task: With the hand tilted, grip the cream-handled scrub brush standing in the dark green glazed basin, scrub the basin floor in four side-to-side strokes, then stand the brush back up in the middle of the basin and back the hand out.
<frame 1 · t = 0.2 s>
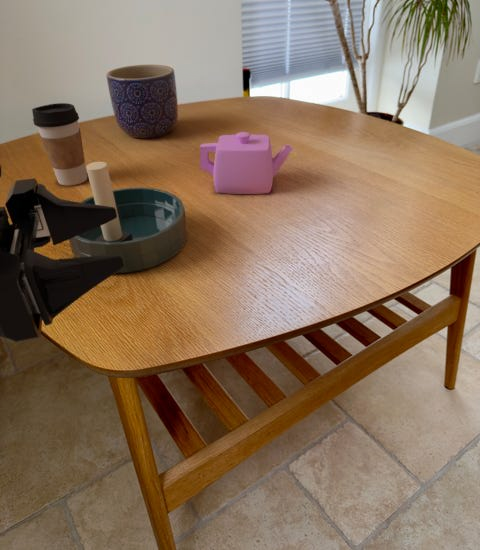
hand: (119, 234, 41), 16 cm above the table, tool horizontal, fingers open, 9 cm apart
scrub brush: (116, 250, 68), point 1 cm above the table, touching basin
planter: (149, 132, 115), on the table
basin: (131, 242, 71), on the table
coffee cup: (73, 180, 92), on the table
teapot: (246, 184, 88), on the table
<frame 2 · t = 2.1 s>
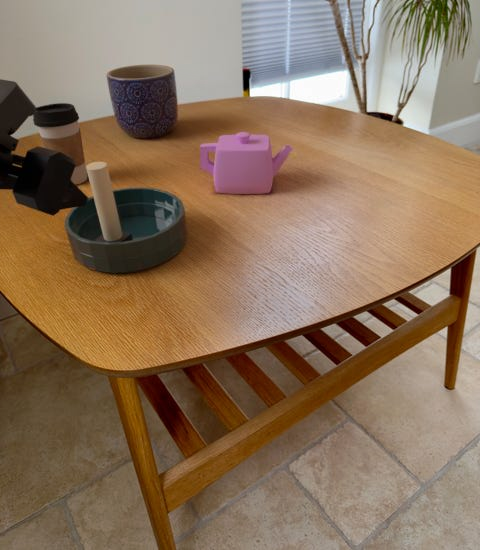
hand: (60, 193, 55), 14 cm above the table, tool tilted 45°, fingers open, 9 cm apart
nothing on the table moved.
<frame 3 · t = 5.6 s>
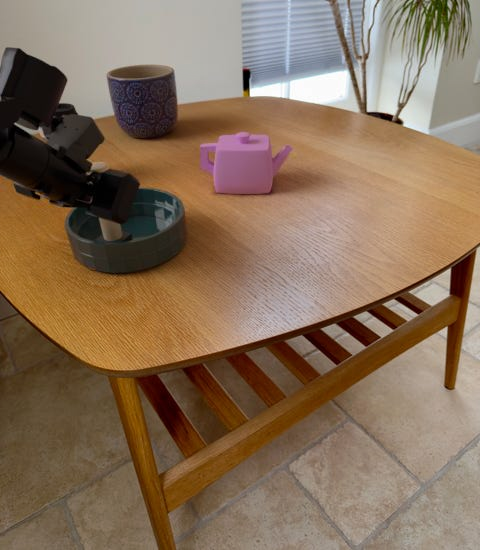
hand: (113, 206, 65), 8 cm above the table, tool tilted 45°, fingers closed on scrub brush, 3 cm apart
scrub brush: (116, 250, 68), point 1 cm above the table, touching basin, gripper
everything else where it was.
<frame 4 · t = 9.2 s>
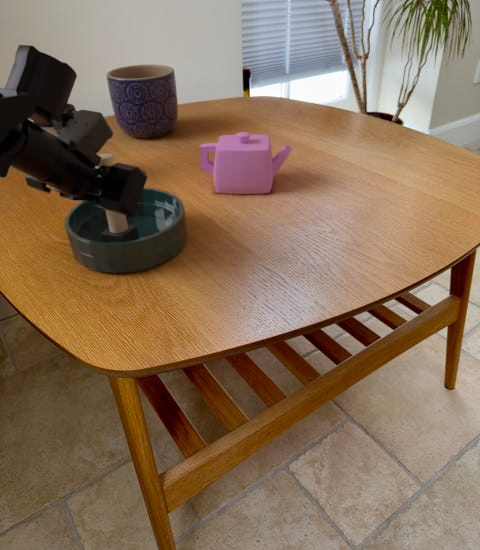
hand: (121, 200, 67), 7 cm above the table, tool tilted 45°, fingers closed on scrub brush, 3 cm apart
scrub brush: (122, 243, 69), point 1 cm above the table, tilted 5°, touching gripper
everything else where it was.
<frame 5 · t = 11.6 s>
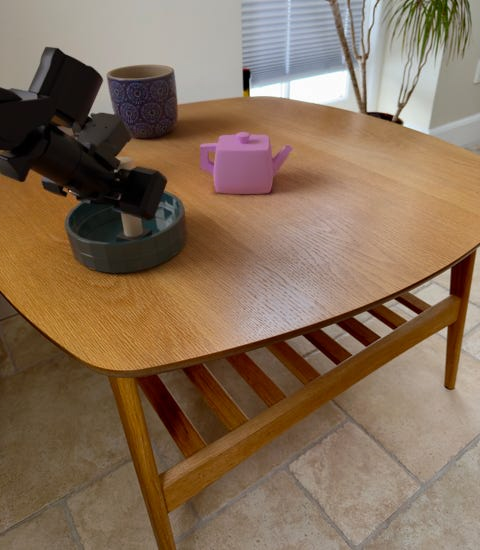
hand: (137, 204, 66), 7 cm above the table, tool tilted 45°, fingers closed on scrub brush, 3 cm apart
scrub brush: (135, 247, 68), point 1 cm above the table, touching gripper
everything else where it was.
when the fingers open (7 cm above the table, at t = 13.0 s): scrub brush stays where it is, resting on basin.
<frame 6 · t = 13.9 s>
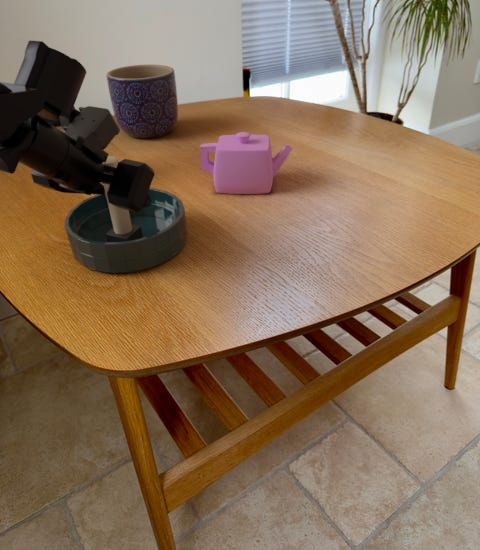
hand: (126, 197, 67), 8 cm above the table, tool tilted 45°, fingers open, 9 cm apart
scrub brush: (126, 243, 70), point 1 cm above the table, touching basin
everything else where it was.
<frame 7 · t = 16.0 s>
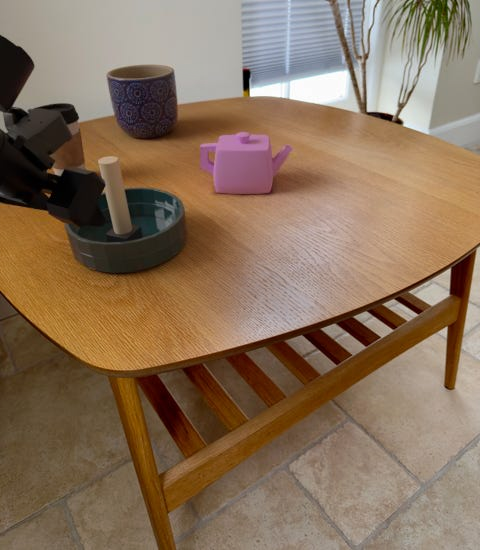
hand: (78, 215, 59), 9 cm above the table, tool tilted 35°, fingers open, 9 cm apart
nothing on the table moved.
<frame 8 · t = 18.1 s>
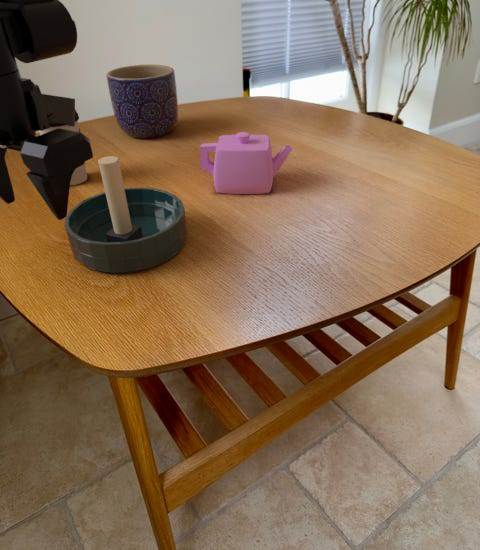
hand: (35, 209, 53), 13 cm above the table, tool pointing down, fingers open, 9 cm apart
nothing on the table moved.
at the end: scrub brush 1.3 cm off-centre in the basin, point 0.6 cm above the basin's base; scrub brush tilted 0°; coffee cup moved 0.2 cm from its start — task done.
